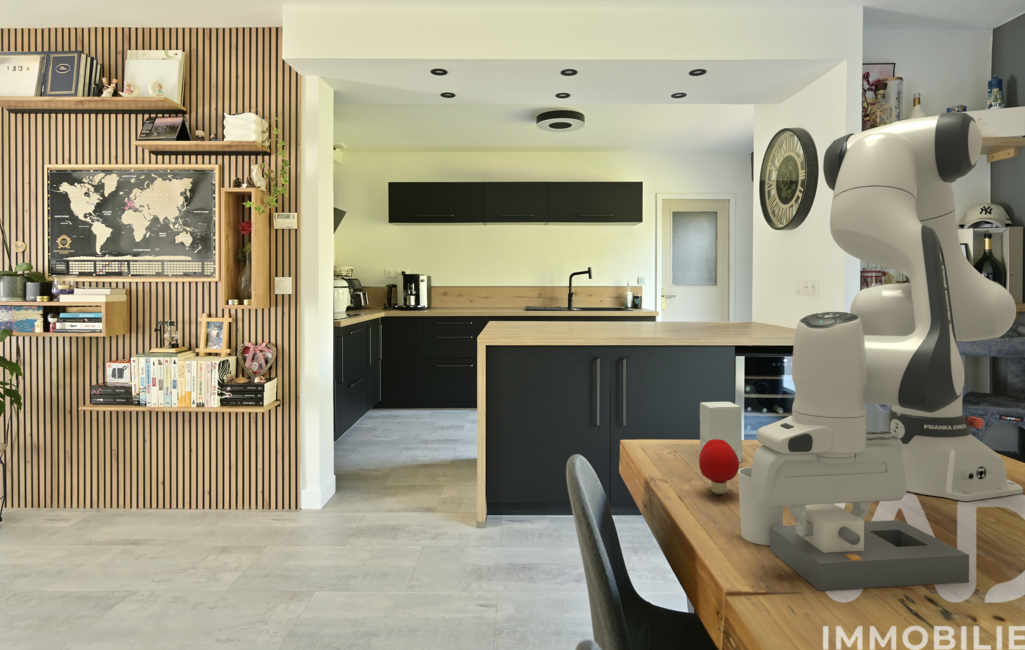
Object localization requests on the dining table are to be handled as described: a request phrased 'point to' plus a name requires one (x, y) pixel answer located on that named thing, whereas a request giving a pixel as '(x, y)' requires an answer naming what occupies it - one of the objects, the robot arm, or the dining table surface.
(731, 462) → the red rounded egg-shaped part
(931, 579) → the double socket
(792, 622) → the dining table surface
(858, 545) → the plug
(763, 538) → the beige cup
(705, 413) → the supplement box
